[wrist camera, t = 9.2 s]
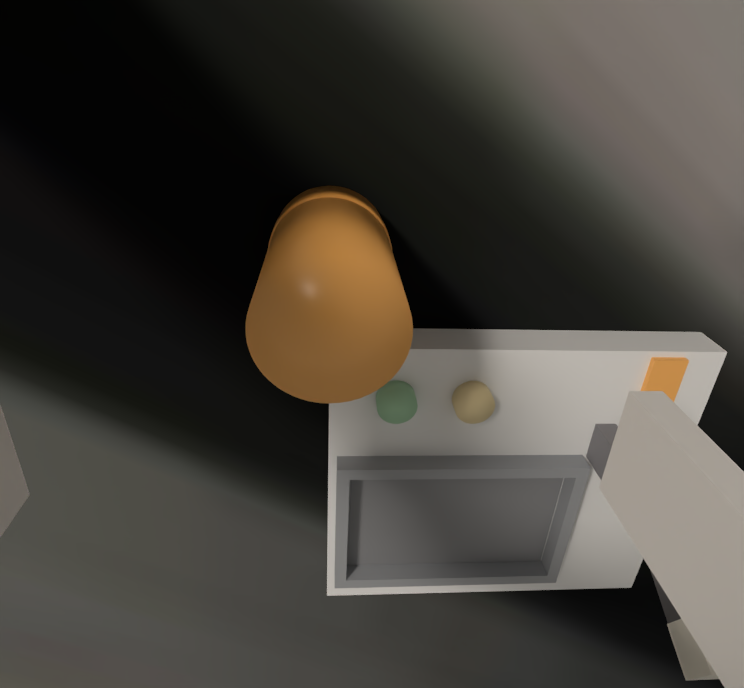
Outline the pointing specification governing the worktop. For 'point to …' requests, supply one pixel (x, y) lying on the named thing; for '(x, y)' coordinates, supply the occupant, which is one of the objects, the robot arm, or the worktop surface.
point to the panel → (497, 460)
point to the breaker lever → (684, 642)
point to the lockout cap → (329, 300)
